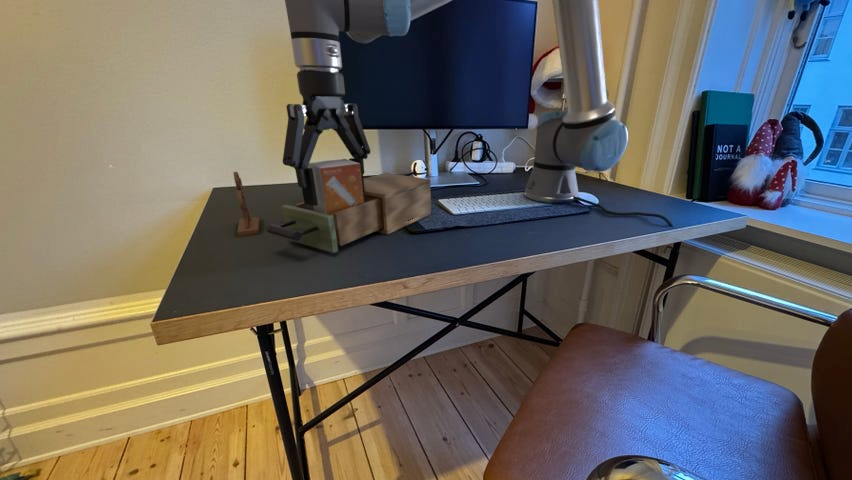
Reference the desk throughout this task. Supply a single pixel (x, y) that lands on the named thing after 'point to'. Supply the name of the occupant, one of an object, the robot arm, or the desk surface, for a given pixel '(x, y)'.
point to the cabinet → (400, 199)
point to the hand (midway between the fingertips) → (336, 197)
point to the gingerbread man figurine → (245, 212)
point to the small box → (337, 185)
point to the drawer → (329, 224)
